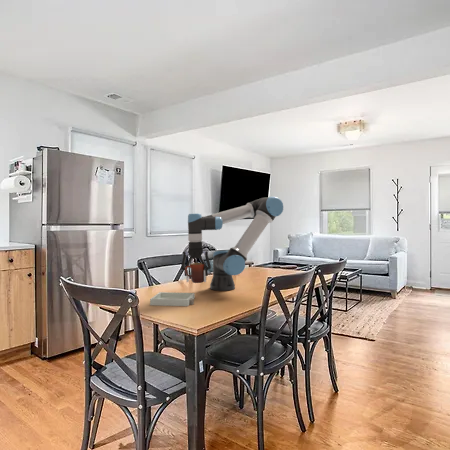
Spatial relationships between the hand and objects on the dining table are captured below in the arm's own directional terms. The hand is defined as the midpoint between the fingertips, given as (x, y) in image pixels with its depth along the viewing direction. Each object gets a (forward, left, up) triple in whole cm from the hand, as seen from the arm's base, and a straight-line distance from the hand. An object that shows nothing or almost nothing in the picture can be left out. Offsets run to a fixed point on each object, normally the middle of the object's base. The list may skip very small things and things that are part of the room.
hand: (196, 281), depth 198 cm
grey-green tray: (+9, +16, -8) cm, 20 cm away
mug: (+1, 0, -1) cm, 1 cm away
